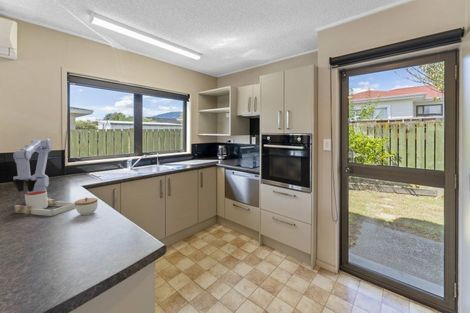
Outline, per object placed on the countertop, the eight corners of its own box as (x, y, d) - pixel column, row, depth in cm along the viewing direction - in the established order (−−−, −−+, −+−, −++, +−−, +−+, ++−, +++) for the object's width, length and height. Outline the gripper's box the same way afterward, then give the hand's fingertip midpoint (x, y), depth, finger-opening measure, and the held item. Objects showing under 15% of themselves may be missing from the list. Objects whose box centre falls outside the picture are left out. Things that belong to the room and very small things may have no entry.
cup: (29, 213, 127) (28, 196, 126) (24, 210, 133) (22, 194, 132) (51, 208, 136) (49, 192, 135) (44, 205, 141) (43, 190, 140)
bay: (14, 212, 129) (13, 205, 128) (42, 204, 143) (41, 198, 143) (29, 213, 126) (28, 207, 126) (55, 205, 141) (55, 199, 140)
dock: (31, 214, 126) (30, 208, 125) (57, 205, 140) (57, 201, 140) (51, 215, 122) (51, 210, 122) (76, 207, 137) (76, 202, 136)
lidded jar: (83, 210, 131) (82, 195, 130) (102, 210, 131) (101, 194, 130) (71, 217, 120) (69, 200, 119) (91, 216, 121) (90, 200, 120)
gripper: (6, 170, 132) (9, 192, 134) (25, 170, 130) (28, 193, 131) (19, 168, 139) (22, 189, 141) (38, 169, 137) (40, 190, 138)
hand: (26, 191), depth 136 cm, fingers open, 7 cm apart
